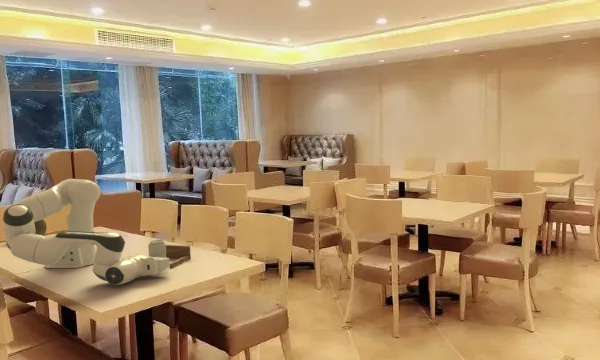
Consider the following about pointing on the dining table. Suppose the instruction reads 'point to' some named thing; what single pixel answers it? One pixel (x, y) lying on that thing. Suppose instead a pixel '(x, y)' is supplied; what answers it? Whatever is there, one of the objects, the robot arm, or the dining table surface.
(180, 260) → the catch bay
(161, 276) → the dining table surface
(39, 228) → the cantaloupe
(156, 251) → the can
